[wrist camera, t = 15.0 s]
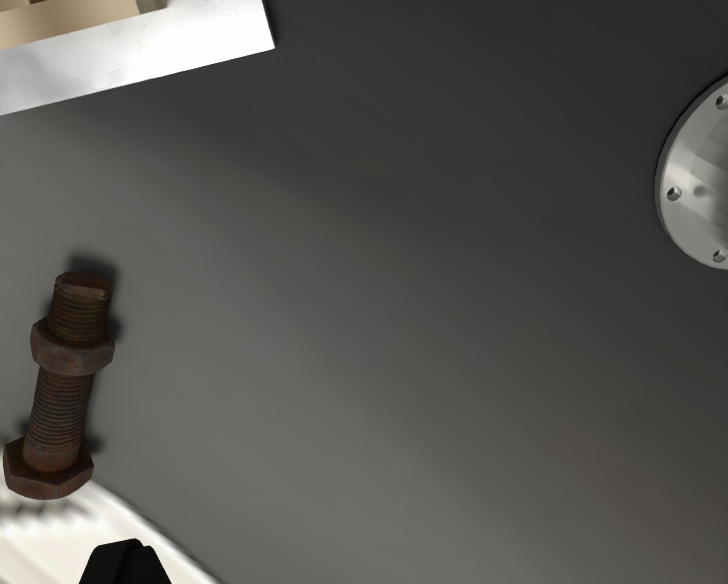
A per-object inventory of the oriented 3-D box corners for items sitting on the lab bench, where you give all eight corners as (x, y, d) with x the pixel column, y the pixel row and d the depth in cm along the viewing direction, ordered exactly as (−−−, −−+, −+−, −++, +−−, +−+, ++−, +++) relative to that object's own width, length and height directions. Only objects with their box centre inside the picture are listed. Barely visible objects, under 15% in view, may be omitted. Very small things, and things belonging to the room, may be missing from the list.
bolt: (117, 260, 42) (77, 440, 48) (31, 253, 39) (-1, 447, 45) (141, 306, 38) (94, 498, 44) (48, 303, 35) (10, 510, 41)
